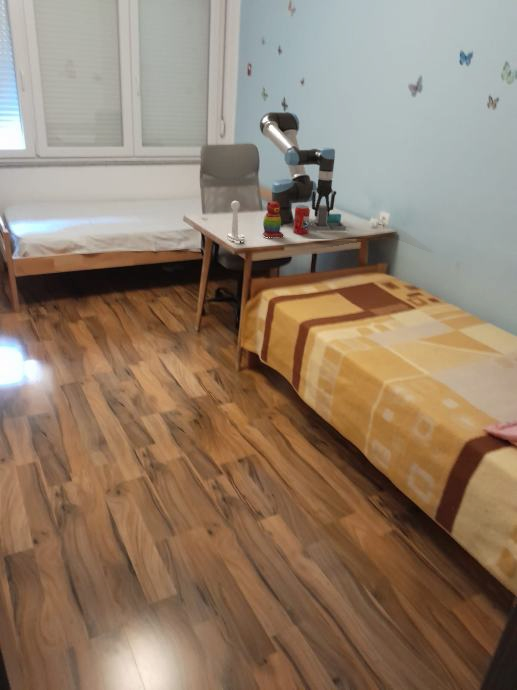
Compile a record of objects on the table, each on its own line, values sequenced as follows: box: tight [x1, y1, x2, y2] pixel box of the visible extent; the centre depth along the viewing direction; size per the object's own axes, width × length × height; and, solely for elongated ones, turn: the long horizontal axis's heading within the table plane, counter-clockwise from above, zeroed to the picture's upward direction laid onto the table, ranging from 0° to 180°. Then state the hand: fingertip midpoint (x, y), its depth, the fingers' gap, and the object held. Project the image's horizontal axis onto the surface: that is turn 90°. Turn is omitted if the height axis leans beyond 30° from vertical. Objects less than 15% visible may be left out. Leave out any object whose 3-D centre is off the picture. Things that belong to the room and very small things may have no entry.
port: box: [327, 213, 347, 231], centre depth 293 cm, size 8×13×6 cm, turn 9°
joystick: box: [227, 200, 245, 242], centre depth 263 cm, size 11×8×20 cm
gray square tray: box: [309, 221, 348, 233], centre depth 292 cm, size 17×17×3 cm
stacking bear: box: [262, 201, 285, 239], centre depth 273 cm, size 11×10×18 cm
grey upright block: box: [316, 204, 327, 226], centre depth 289 cm, size 4×6×12 cm, turn 9°
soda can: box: [292, 204, 311, 236], centre depth 278 cm, size 8×8×15 cm
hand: (321, 222), depth 290 cm, fingers open, 4 cm apart
